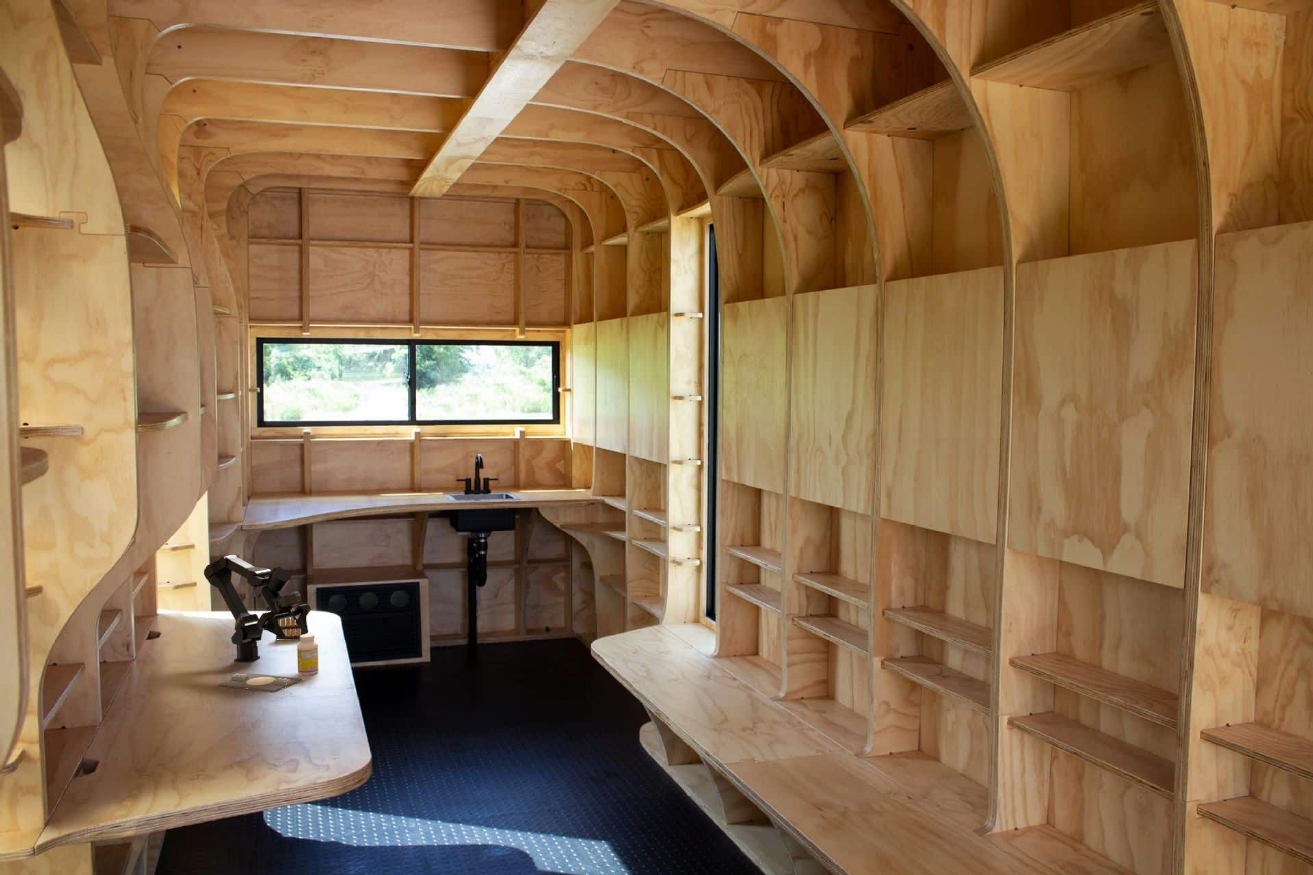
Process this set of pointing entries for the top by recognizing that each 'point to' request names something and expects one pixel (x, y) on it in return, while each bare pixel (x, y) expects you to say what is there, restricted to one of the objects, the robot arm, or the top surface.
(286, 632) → the ammunition clip
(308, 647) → the supplement bottle
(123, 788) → the top surface
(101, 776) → the top surface
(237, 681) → the curved gray panel
